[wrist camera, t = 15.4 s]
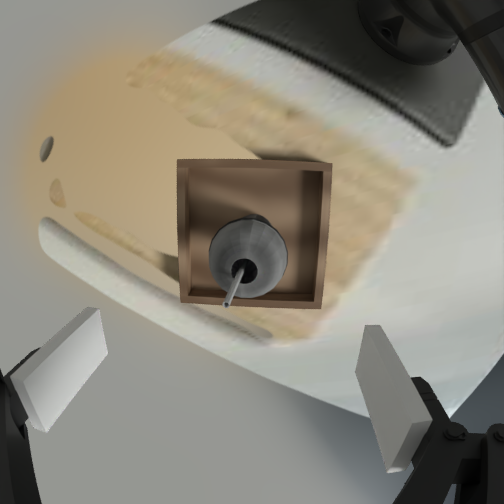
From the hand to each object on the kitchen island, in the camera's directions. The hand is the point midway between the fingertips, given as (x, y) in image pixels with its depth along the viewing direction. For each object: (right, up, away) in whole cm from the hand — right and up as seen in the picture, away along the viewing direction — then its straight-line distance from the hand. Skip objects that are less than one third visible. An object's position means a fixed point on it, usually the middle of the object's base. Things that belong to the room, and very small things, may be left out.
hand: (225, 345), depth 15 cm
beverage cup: (+2, +7, +26) cm, 27 cm away
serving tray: (+1, +7, +27) cm, 28 cm away
